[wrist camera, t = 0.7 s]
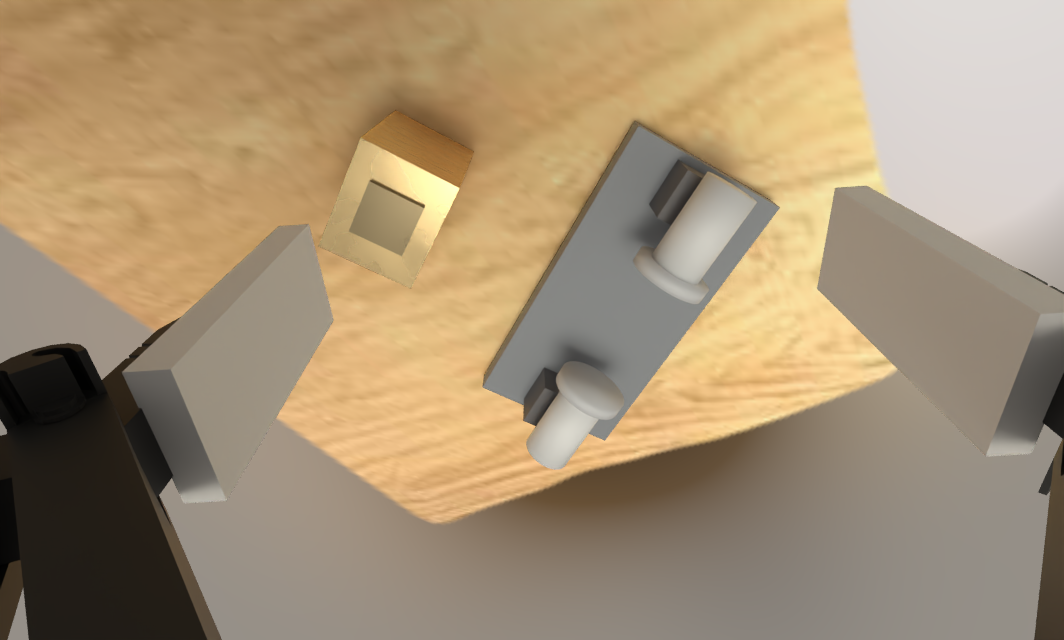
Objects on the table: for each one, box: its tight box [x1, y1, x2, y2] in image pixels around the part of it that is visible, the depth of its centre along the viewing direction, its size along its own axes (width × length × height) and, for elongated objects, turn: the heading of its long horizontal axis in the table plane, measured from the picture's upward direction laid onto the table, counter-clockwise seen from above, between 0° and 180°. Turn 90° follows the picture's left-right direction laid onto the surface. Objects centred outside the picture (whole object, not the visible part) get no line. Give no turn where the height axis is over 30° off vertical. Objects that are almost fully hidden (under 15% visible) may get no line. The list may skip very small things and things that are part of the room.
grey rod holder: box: [483, 121, 780, 469], centre depth 36 cm, size 10×20×8 cm, turn 152°
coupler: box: [319, 110, 473, 289], centre depth 32 cm, size 5×6×8 cm
